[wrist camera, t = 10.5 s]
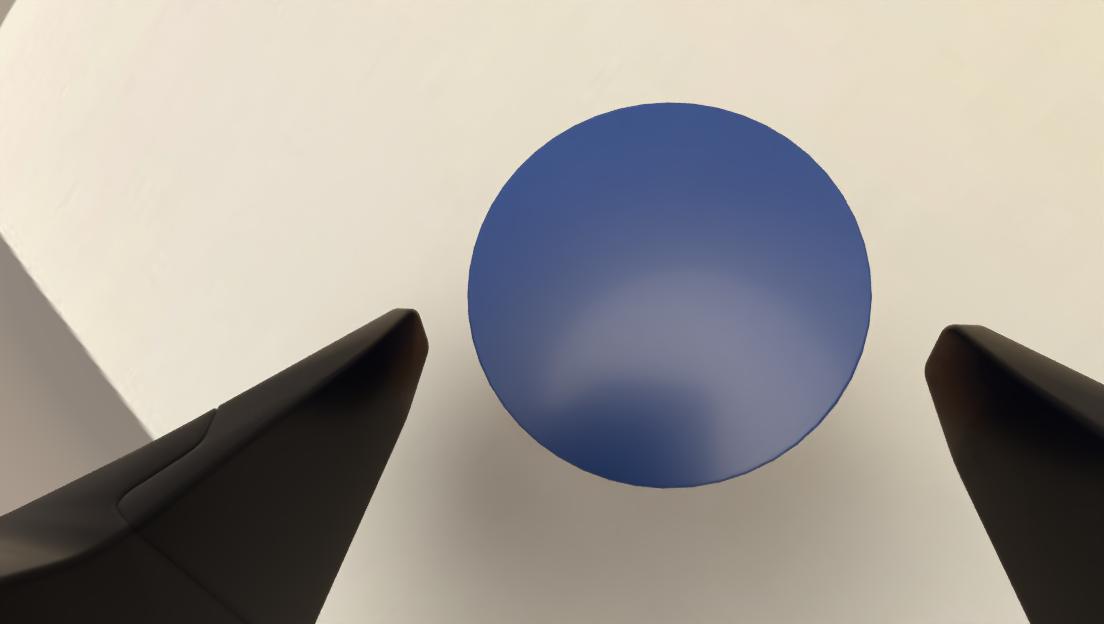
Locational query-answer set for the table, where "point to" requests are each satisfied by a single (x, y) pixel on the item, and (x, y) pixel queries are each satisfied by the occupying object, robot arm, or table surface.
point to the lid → (669, 295)
